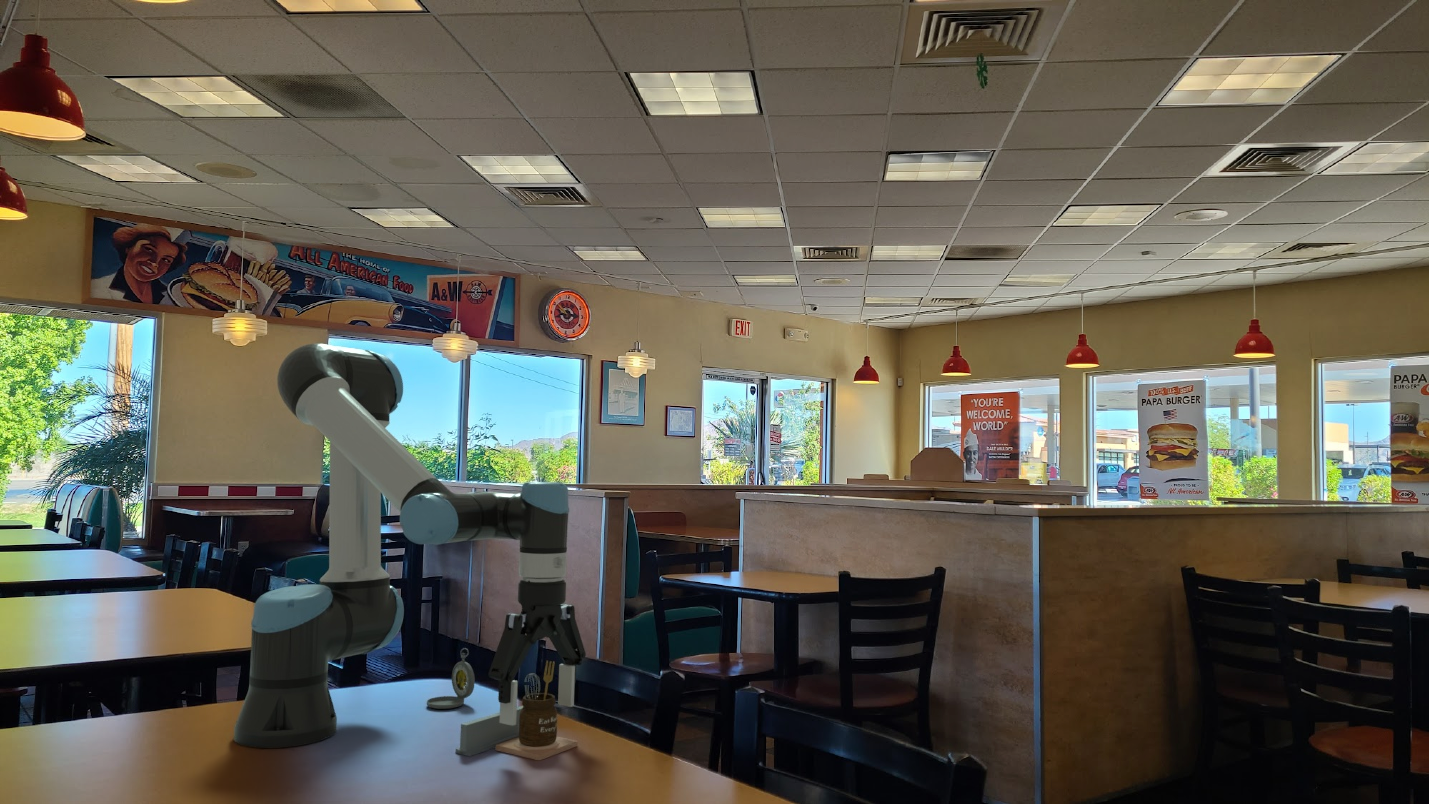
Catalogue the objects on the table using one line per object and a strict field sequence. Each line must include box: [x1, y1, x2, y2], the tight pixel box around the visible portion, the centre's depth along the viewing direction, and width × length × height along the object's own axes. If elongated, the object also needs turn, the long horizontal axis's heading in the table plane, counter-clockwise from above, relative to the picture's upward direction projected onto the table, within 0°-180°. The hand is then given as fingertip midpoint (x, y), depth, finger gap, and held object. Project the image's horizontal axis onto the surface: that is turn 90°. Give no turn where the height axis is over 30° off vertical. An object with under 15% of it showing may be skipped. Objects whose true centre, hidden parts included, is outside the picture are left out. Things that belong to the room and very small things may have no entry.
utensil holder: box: [519, 660, 558, 747], centre depth 150 cm, size 6×6×12 cm
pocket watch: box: [426, 647, 476, 710], centre depth 174 cm, size 8×8×10 cm
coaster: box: [495, 736, 578, 761], centre depth 149 cm, size 9×9×1 cm
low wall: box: [455, 705, 523, 757], centre depth 153 cm, size 3×18×4 cm, turn 149°
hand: (537, 714), depth 149 cm, fingers open, 13 cm apart
